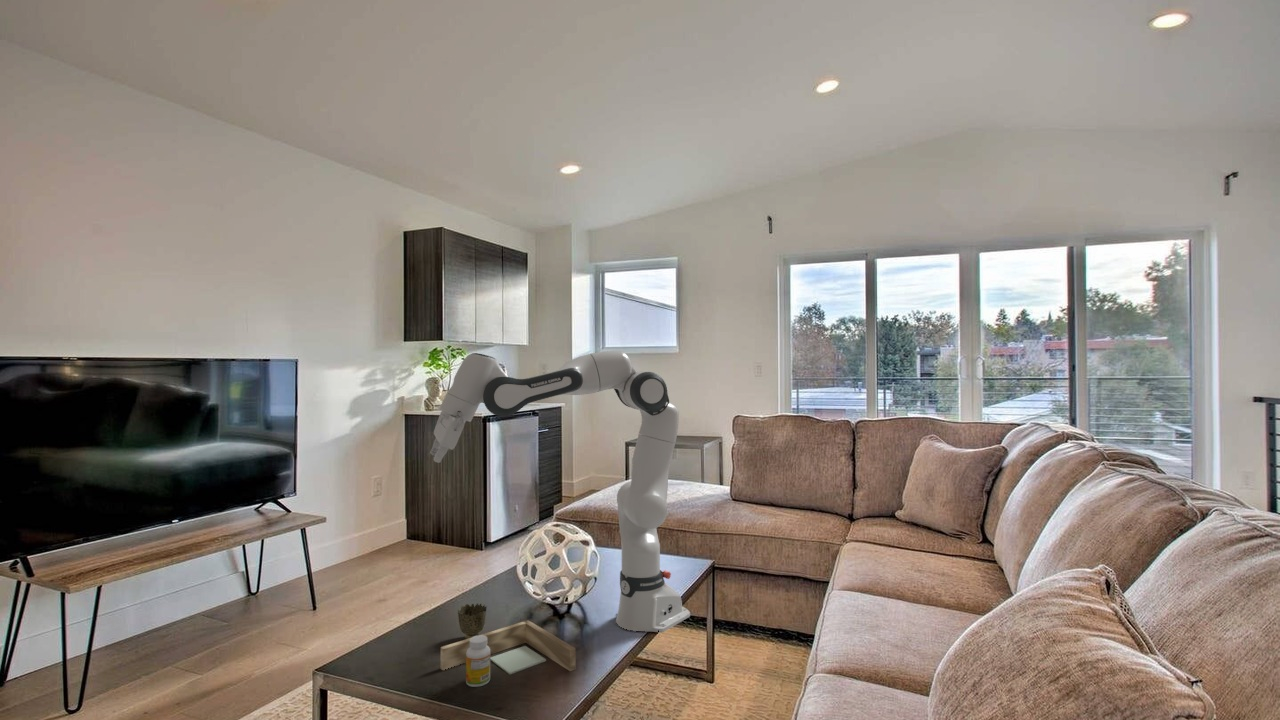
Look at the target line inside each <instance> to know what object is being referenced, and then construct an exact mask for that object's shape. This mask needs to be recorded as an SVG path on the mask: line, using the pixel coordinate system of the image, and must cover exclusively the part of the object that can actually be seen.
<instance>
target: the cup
mask: <svg viewBox="0 0 1280 720" xmlns="http://www.w3.org/2000/svg"><path fill="white" fill-rule="evenodd" d="M457 609H458V608H457ZM486 614H487V606H485V604H483V605H482V603H480V604H479V603H476V604H475V605H474V603H472V604H471V605H469V604H468V603H467V604H465V605H464V606H463V605H461V607H460V609H458V610H457V615H458V624H459V629H460V631H461V632H462V634H464V638H465V639H469V638H472V637H474V636H477V635H480V633H481V631H483V629H484V627H485V622H486V617H487V615H486Z"/></svg>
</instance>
